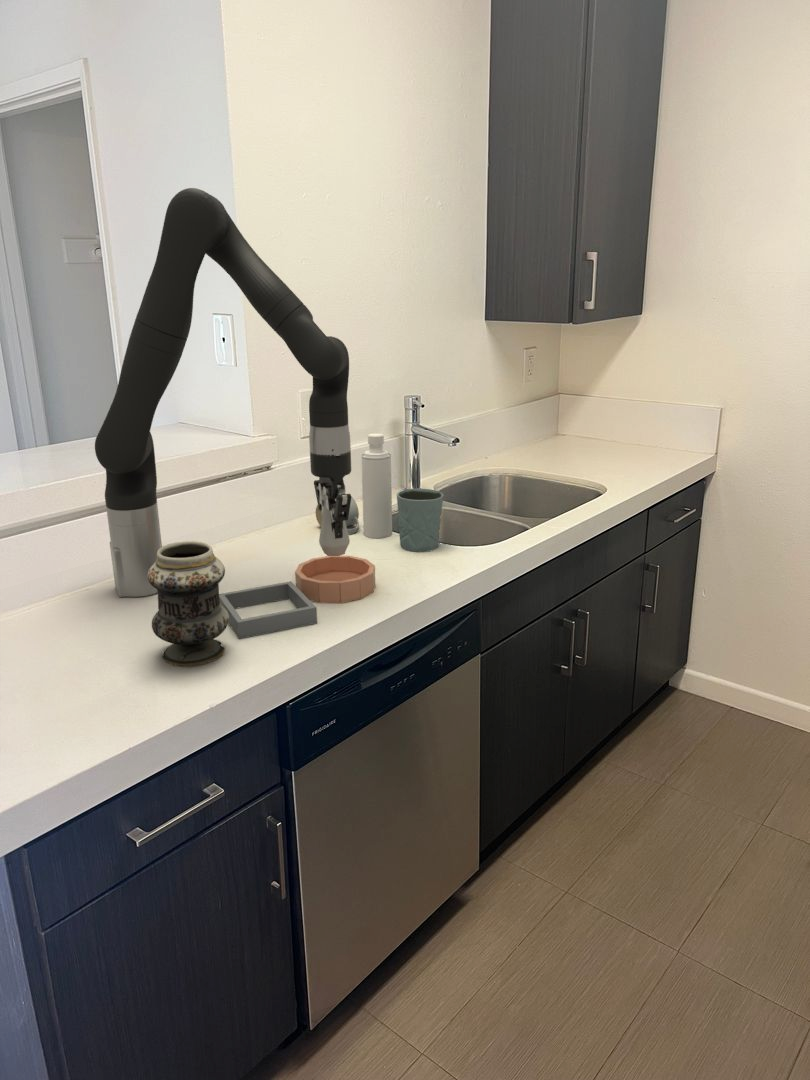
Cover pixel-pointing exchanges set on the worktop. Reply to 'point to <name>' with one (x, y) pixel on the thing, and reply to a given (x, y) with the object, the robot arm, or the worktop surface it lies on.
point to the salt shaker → (332, 534)
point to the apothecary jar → (188, 603)
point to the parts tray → (268, 622)
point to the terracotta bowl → (335, 578)
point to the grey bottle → (376, 489)
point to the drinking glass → (419, 519)
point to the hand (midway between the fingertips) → (333, 537)
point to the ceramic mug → (351, 518)
